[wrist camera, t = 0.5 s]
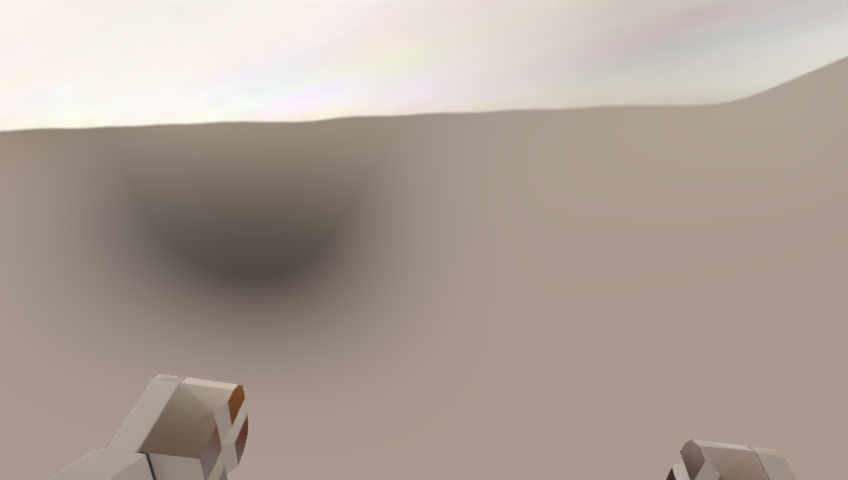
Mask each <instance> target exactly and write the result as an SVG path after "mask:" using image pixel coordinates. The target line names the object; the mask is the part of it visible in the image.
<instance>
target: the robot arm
mask: <svg viewBox="0 0 848 480" xmlns="http://www.w3.org/2000/svg"><path fill="white" fill-rule="evenodd" d="M244 399H245V395H244V390H243V386H242V385H237V384H230V383H224V382H217V381H210V380H204V379H197V378H190V377H182V376H174V375H168V374H161V373H160V374H158V375H157V376H156V377H155V378H153V379H152V380H151V381H150V383H149V384H148V386H147V387H146V389H145V390H144V392H143V393H142V395H141V396H140V398H139V399H138V401H137V402H136V404H135V405H134V407H133V408H132V410H131V411H130V413H129V414H128V416H127V417H126V419H125V420H124V422H123V423H122V425H121V426H120V428H119V429H118V431H117V432H116V434H115V435H114V437H113V438H112V440H111V441H110V443H109V444H108V446H107V447H106V449H103V448H96V449H94V450H93V451H91V452H90V453H88V454H86V455H85V456H84V457H82V458H80V459H79V460H77V461H75V462H74V463H72V464H70V465H69V466H67V467H66V468H64V469H62V470H61V471H59V472H58V473H56V474H55V475H53V476H51V477H50V478H48V479H46V480H227V475H226V474H228V473H229V472H230V471H232V470H233V469H234V468H235V467H237V466H238V464H239V461H240V459H241V456H242V454H243V452H244V448H245V444H246V440H247V435H248V417H247V414H246V413H245V412H244V411H243V410H242V409H241V406H242V404H243V401H244ZM680 452H681V455H682V459H683V462H681V463H679V464H677V465H675V466H673V467H672V468H671V470H670V472H669V475H668V477H667V479H666V480H797V478H796V476H795V474H794V472H793V470H792V469H791V467H790V465H789V463H788V461H787V459H786V458H785V456H784V455H783V454H782V453H780V452H779V451H778V450H773V449H764V448H757V447H746V446H744V445H736V444H727V443H718V442H709V441H700V440H690V441H688V442H686V443H685V445H684V446H683V448H682V450H681V451H680Z"/></svg>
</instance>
